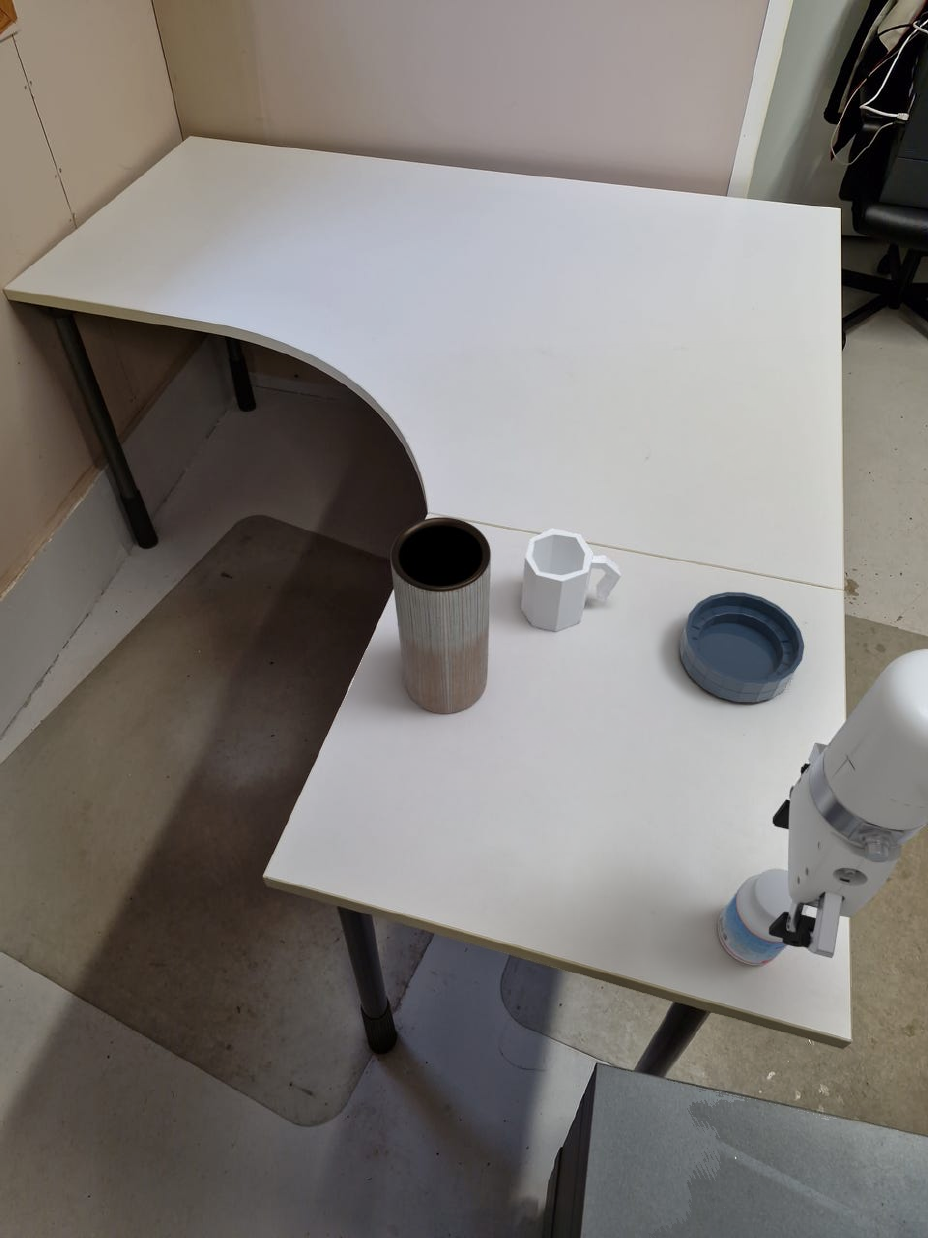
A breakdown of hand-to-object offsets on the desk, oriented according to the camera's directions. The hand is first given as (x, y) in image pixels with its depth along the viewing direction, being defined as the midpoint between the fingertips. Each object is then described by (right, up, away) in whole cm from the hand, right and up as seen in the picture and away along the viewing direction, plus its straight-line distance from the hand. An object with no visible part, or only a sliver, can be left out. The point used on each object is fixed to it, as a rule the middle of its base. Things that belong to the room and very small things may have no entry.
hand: (789, 879), depth 69 cm
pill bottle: (0, -9, +11) cm, 15 cm away
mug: (-14, +24, +37) cm, 46 cm away
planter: (-30, +15, +30) cm, 45 cm away
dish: (+6, +17, +32) cm, 36 cm away
